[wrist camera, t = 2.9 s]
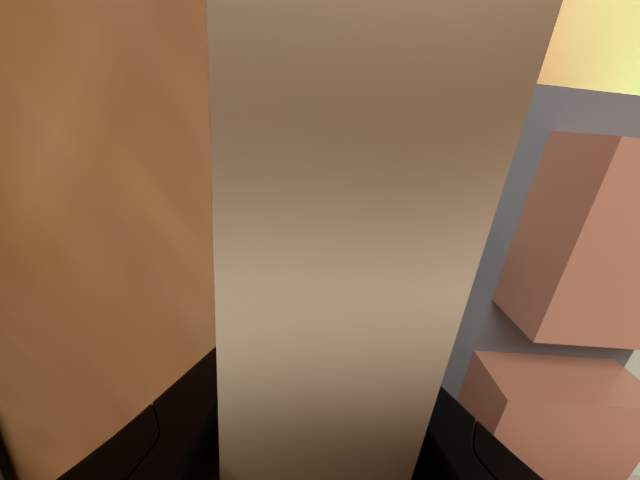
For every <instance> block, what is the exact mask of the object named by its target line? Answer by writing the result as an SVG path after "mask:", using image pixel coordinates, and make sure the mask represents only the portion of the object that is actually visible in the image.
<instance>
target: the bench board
mask: <svg viewBox="0 0 640 480" xmlns="http://www.w3.org/2000/svg"><path fill="white" fill-rule="evenodd" d="M550 131H560V132H573V133H586V134H599V135H612V136H624V137H633V138H640V96H637V95H628V94H620V93H611V92H602V91H594V90H585V89H576V88H568V87H559V86H550V85H542V84H536V86H535V89H534V93H533V96H532V99H531V102H530V105H529V108H528V111H527V115H526V118H525V121H524V124H523V127H522V130H521V134H520V137H519V140H518V143H517V146H516V149H515V153H514V156H513V159H512V162H511V165H510V168H509V171H508V175H507V178H506V181H505V184H504V187H503V190H502V194H501V197H500V200H499V203H498V206H497V209H496V213H495V216H494V219H493V222H492V225H491V228H490V231H489V235H488V238H487V241H486V244H485V247H484V250H483V254H482V257H481V260H480V263H479V266H478V269H477V273H476V276H475V279H474V282H473V285H472V288H471V291H470V295H469V298H468V301H467V304H466V307H465V310H464V314H463V317H462V320H461V323H460V326H459V329H458V333H457V336H456V339H455V342H454V345H453V348H452V351H451V355H450V358H449V361H448V364H447V367H446V370H445V374H444V377H443V380H442V383H441V386H442V387H443V388H444V389H445V390H446V391H447V392H448V393H449V394H450V395H451V396H453V397H454V398H455V399H456V400H457V398H458V395H459V392H460V389H461V386H462V383H463V380H464V378H465V375H466V372H467V369H468V366H469V363H470V360H471V358H472V355H473V352H474V350H475V351H491V352H506V353H522V354H537V355H553V356H568V357H584V358H599V359H615V360H616V361H617V362H618V363H619V364H621V365H622V366H623V367H625V365H626V363H627V361H628V360H629V358H630V356H631V355H632V353H633V351H634V349H621V348H606V347H591V346H576V345H561V344H546V343H533V342H532V341H531V340H530V339H529V338H528V337H527V336H526V335H525V334H524V332H523V331H522V330H521V329H520V328H519V327H518V326H517V325H516V324H515V323H514V322H513V321H512V320H511V319H510V318H509V317H508V316H507V315H506V314H505V313H504V312H503V311H502V310H501V309H500V307H499V306H498V305H497V304H496V303H495V302H494V301H493V300H492V297H493V294H494V292H495V289H496V286H497V283H498V280H499V277H500V274H501V272H502V269H503V266H504V263H505V260H506V257H507V254H508V251H509V249H510V246H511V243H512V240H513V237H514V234H515V231H516V229H517V226H518V223H519V220H520V217H521V214H522V211H523V208H524V206H525V203H526V200H527V197H528V194H529V191H530V188H531V186H532V183H533V180H534V177H535V174H536V171H537V168H538V165H539V163H540V160H541V157H542V154H543V151H544V148H545V145H546V143H547V140H548V137H549V134H550Z"/></svg>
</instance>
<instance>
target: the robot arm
mask: <svg viewBox="0 0 640 480" xmlns="http://www.w3.org/2000/svg"><path fill="white" fill-rule="evenodd" d="M0 480H14V479H13V476H12V474H11V471H10V469H9V466H8V464H7V461H6V459H5V456H4V454H3V451H2V449H1V446H0ZM56 480H220V463H219V428H218V393H217V358H216V347H215V348H214V349H212V350H211V351H210V352H209V353H208V354H207V355H206V356H205V357H203V358H202V359H201V360H200V361H199V362H198V363H197V364H195V365H194V366H193V367H192V368H191V369H190V370H189V371H188V372H186V373H185V374H184V375H183V376H182V377H181V378H180V379H178V380H177V381H176V382H175V383H174V384H173V385H172V386H171V387H169V388H168V389H167V390H166V391H165V392H164V393H163V394H161V395H160V396H159V397H158V398H157V399H156V400H155V401H154V402H153V405H152V404H150V405H149V406H148V407H147V408H145V409H144V410H143V411H142V412H141V413H140V414H139V415H137V416H136V417H135V418H134V419H133V420H132V421H130V422H129V423H128V424H127V425H126V426H125V427H123V428H122V429H121V430H120V431H119V432H117V433H116V434H115V435H114V436H113V437H111V438H110V439H109V440H107V441H106V442H105V443H104V444H102V445H101V446H100V447H98V448H97V449H96V450H95V451H93V452H92V453H91V454H89V455H88V456H87V457H86V458H84V459H83V460H81V461H80V462H79V463H77V464H76V465H75V466H73V467H72V468H71V469H69V470H68V471H67V472H65V473H64V474H63V475H61V476H60V477H59V478H57V479H56ZM411 480H544V479H543V478H541V477H540V476H539V475H538V474H537V473H536V472H534V471H533V470H532V469H531V468H530V467H529V466H527V465H526V464H525V463H524V462H523V461H522V460H520V459H519V458H518V457H517V456H516V455H515V454H513V453H512V452H511V451H510V450H509V449H508V448H507V447H506V446H505V445H504V444H502V443H501V442H500V441H499V440H498V439H497V438H496V437H495V436H494V435H493V434H492V433H491V432H489V431H488V430H487V429H486V428H485V427H484V426H483V425H482V424H481V423H480V422H479V421H476V419H475V417H474V416H472V415H471V414H470V413H469V412H468V411H467V410H466V409H465V408H464V407H463V406H462V405H461V404H460V403H459V402H458V401H457V400H456V399H455V398H454V397H453V396H451V395H450V394H449V393H448V392H447V391H446V390H445V389H444V388H443V387H442V386H440V389H439V393H438V396H437V399H436V402H435V405H434V408H433V411H432V415H431V418H430V421H429V424H428V427H427V430H426V434H425V437H424V440H423V443H422V446H421V449H420V453H419V456H418V459H417V462H416V465H415V468H414V471H413V475H412V478H411Z"/></svg>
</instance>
